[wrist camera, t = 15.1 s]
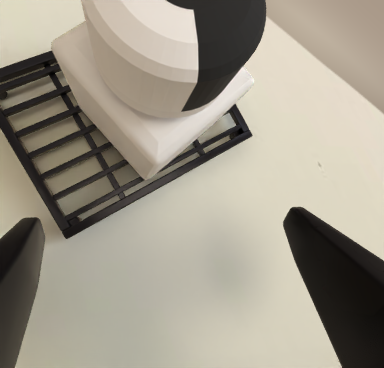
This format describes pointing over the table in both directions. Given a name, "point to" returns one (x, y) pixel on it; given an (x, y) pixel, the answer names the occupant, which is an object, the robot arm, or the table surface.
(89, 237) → the table surface
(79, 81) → the medicine bottle
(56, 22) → the table surface
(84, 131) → the wire rack
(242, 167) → the table surface
